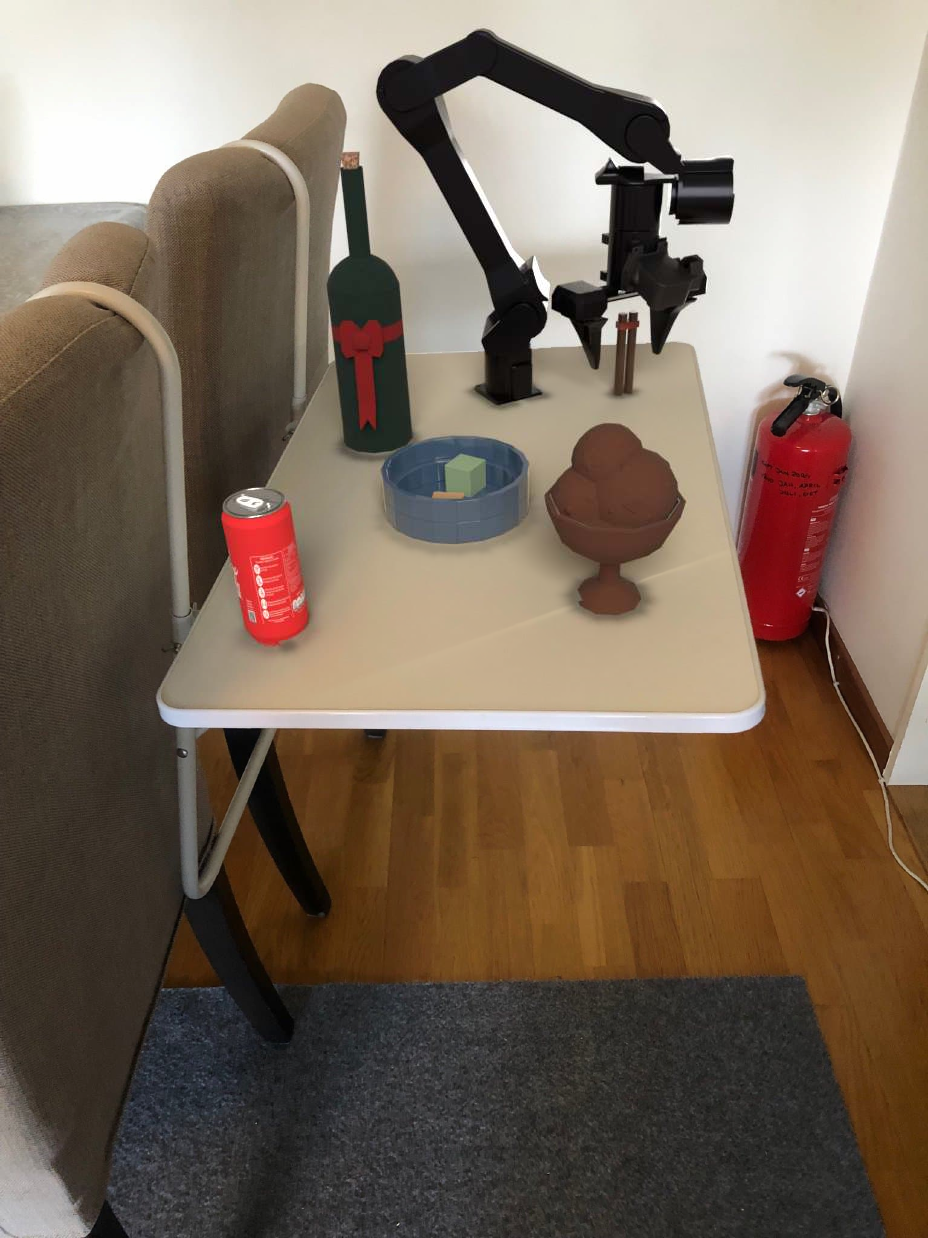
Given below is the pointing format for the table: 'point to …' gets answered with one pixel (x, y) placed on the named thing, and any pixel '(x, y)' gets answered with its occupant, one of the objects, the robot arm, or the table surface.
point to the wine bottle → (367, 332)
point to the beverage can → (265, 564)
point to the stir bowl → (454, 520)
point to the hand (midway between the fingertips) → (625, 361)
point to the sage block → (465, 475)
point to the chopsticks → (630, 351)
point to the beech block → (448, 495)
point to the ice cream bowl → (613, 510)
